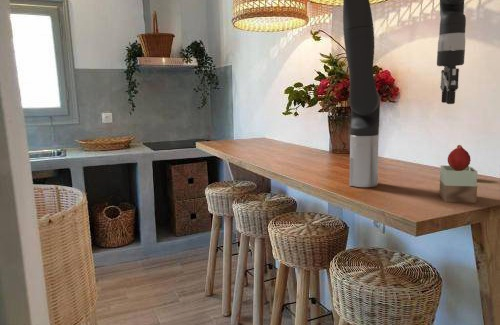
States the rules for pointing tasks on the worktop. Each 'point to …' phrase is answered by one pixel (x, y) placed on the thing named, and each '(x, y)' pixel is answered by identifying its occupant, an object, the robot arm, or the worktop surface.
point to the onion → (459, 159)
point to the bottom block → (458, 193)
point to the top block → (458, 176)
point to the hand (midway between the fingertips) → (447, 103)
